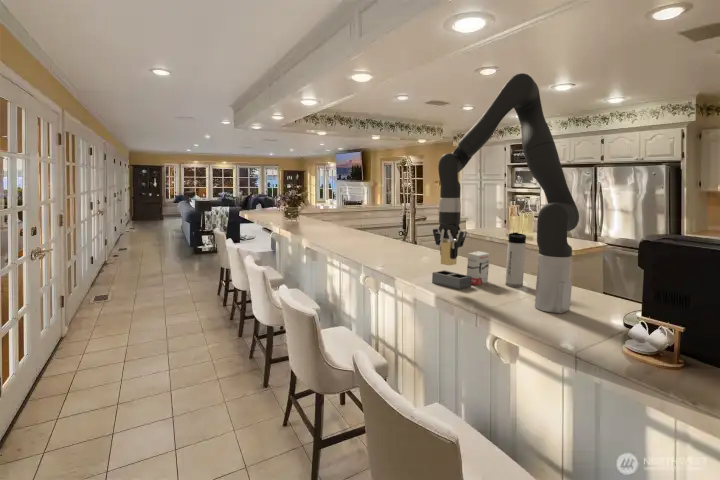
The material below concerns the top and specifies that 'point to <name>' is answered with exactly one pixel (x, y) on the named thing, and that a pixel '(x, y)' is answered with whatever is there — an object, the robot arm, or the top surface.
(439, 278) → the grey hollow block
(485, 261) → the ink box
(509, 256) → the travel mug
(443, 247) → the tan wooden block
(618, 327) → the top surface
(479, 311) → the top surface
